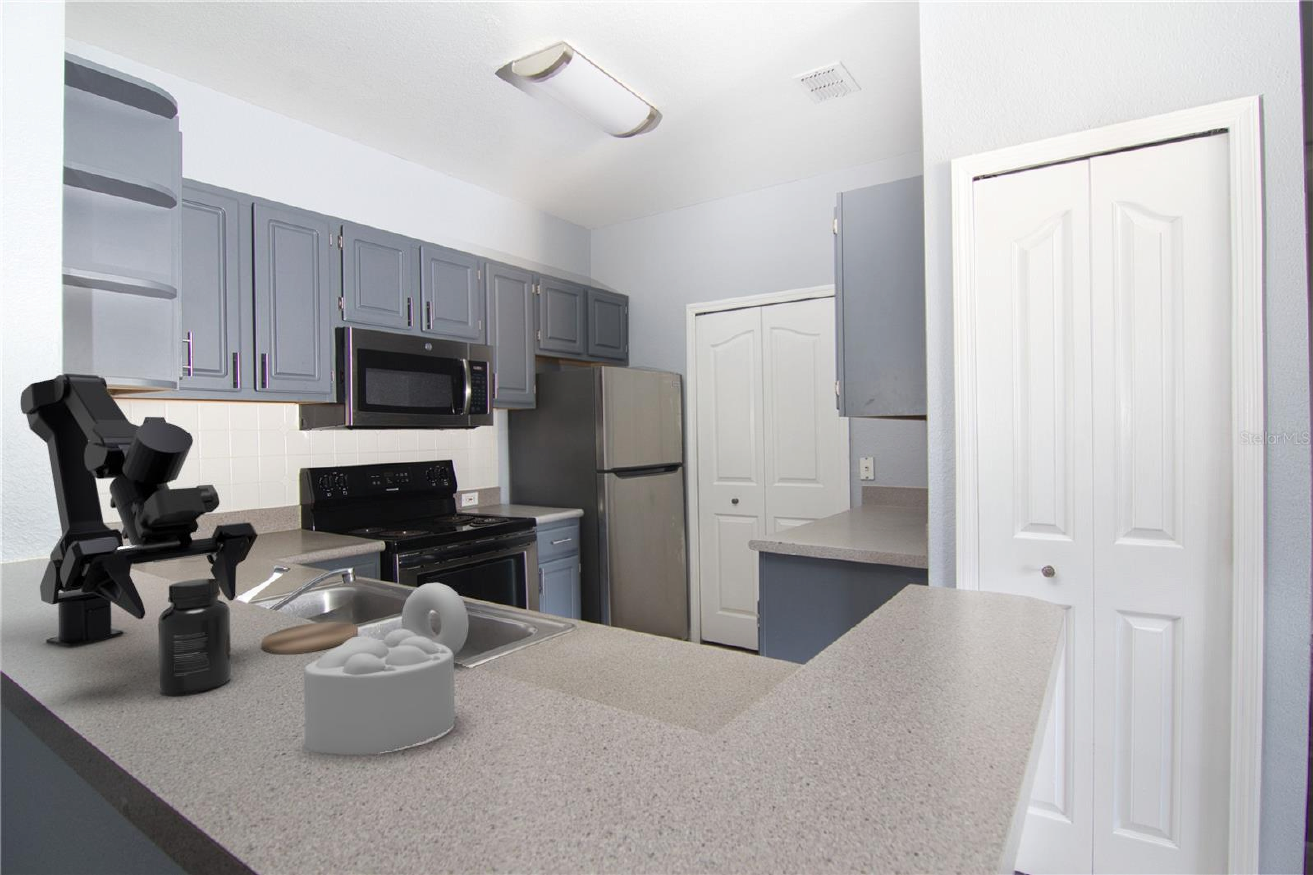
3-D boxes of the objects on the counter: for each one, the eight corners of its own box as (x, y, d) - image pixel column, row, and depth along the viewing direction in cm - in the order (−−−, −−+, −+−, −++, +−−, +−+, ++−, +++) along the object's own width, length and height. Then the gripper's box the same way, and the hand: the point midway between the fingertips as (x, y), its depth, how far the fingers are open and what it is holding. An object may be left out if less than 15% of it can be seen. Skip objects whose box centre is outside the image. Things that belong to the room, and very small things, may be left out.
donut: (475, 662, 81) (474, 583, 81) (456, 671, 78) (455, 589, 78) (416, 652, 85) (415, 577, 85) (395, 660, 82) (394, 582, 82)
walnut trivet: (241, 648, 88) (241, 642, 88) (317, 624, 99) (317, 619, 99) (304, 658, 83) (304, 652, 83) (376, 632, 94) (376, 626, 94)
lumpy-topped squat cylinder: (351, 706, 68) (350, 625, 68) (471, 707, 67) (469, 625, 67) (289, 754, 58) (288, 658, 58) (430, 756, 57) (428, 659, 57)
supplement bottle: (245, 675, 77) (244, 576, 77) (199, 697, 71) (198, 589, 71) (193, 673, 78) (191, 575, 78) (142, 696, 71) (141, 589, 71)
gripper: (67, 468, 70) (108, 578, 64) (249, 462, 86) (295, 549, 80) (44, 535, 74) (80, 645, 68) (221, 517, 90) (263, 605, 84)
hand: (189, 607), depth 75 cm, fingers open, 9 cm apart
